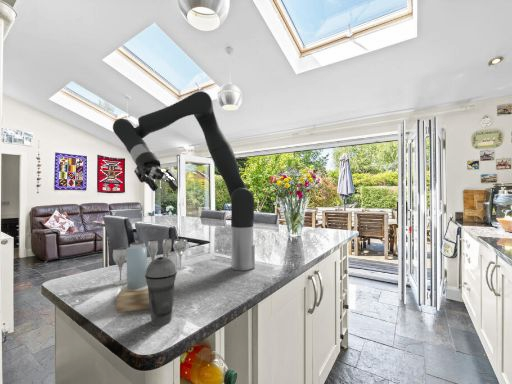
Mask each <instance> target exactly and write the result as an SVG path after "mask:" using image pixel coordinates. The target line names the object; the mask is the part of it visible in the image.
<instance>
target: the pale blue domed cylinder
mask: <svg viewBox="0 0 512 384" xmlns="http://www.w3.org/2000/svg"><path fill="white" fill-rule="evenodd" d="M125 248H126V258H127V260H126V280H127V288H129V289H137V288H142V287H144V286H146V285H147V282H146V277H145V275H146V270H147V267H148V245H147V246H146V245H145V246H133V247H130V246H129V247H125Z"/></svg>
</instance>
